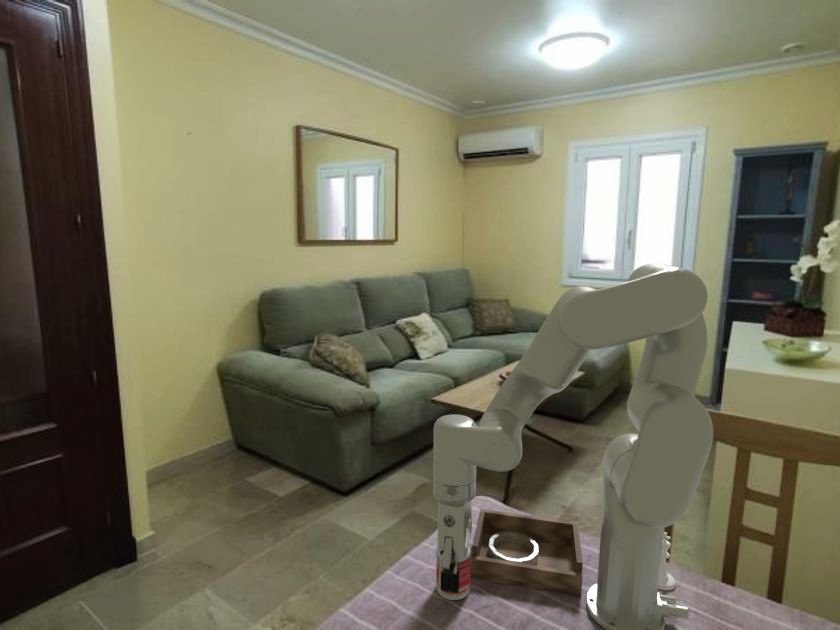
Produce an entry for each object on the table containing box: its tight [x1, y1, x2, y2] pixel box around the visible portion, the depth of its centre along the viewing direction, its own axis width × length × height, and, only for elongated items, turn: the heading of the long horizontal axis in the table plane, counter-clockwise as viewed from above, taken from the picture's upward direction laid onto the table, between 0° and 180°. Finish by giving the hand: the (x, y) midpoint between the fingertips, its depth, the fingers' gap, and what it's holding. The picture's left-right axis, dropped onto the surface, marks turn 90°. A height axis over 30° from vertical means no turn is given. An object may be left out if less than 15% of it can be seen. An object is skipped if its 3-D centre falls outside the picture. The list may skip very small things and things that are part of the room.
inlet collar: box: [489, 531, 538, 565], centre depth 97 cm, size 10×10×2 cm
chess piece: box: [658, 531, 676, 591], centre depth 91 cm, size 5×5×10 cm
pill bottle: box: [435, 545, 471, 601], centre depth 88 cm, size 6×6×11 cm
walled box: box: [470, 508, 584, 598], centre depth 96 cm, size 20×14×6 cm
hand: (453, 576), depth 89 cm, fingers closed on pill bottle, 6 cm apart
